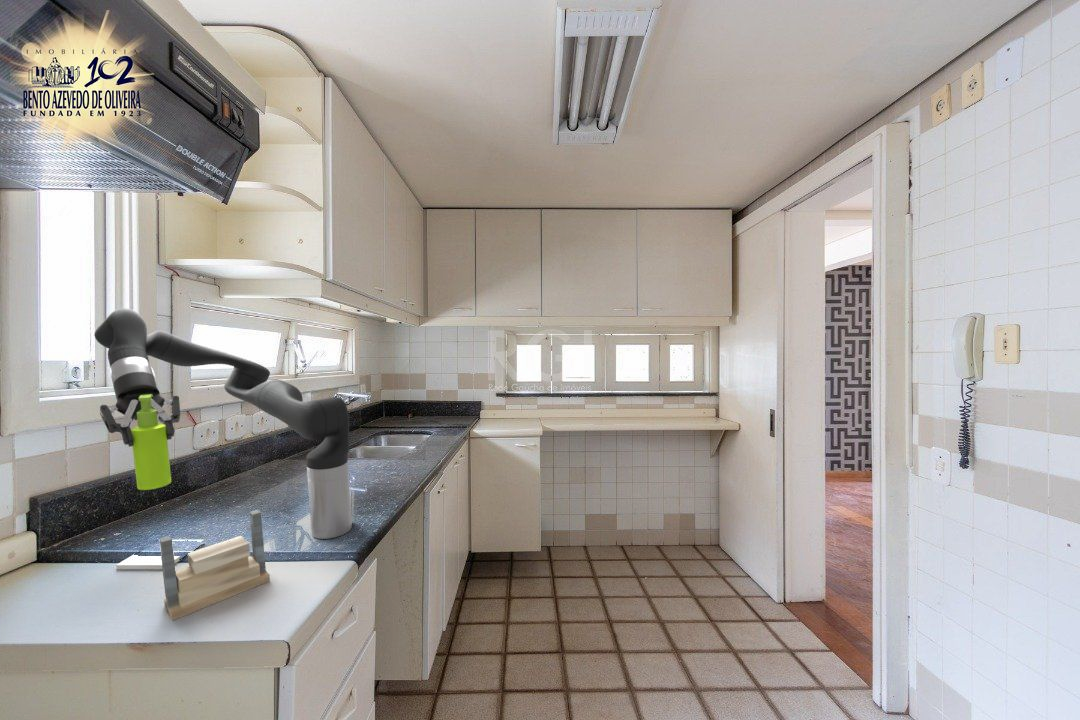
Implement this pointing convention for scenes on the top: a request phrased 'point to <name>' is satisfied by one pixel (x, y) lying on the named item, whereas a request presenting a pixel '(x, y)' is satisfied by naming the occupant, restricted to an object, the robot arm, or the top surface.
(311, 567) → the top surface
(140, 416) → the soap dispenser
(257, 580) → the offcut rack
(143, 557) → the pad
